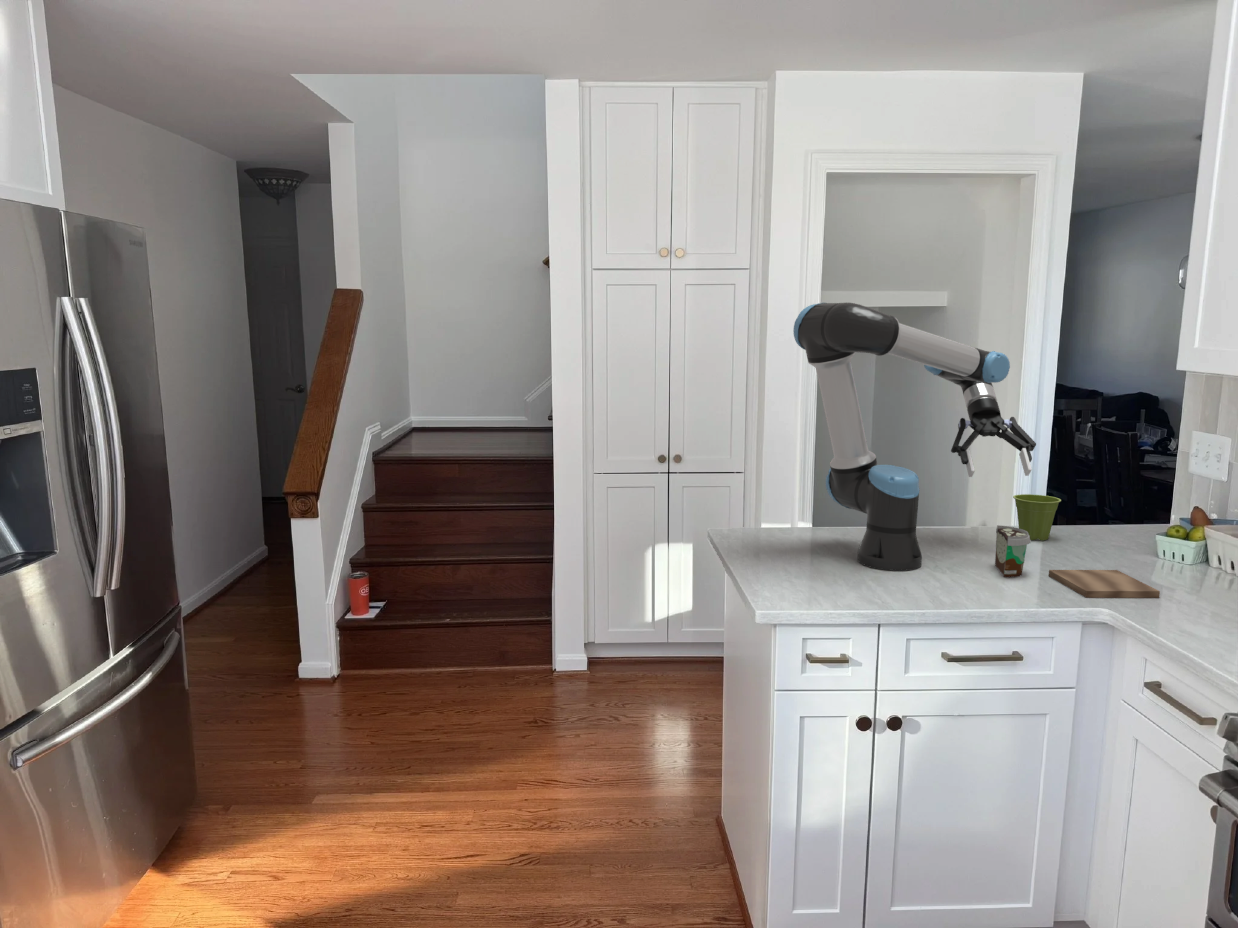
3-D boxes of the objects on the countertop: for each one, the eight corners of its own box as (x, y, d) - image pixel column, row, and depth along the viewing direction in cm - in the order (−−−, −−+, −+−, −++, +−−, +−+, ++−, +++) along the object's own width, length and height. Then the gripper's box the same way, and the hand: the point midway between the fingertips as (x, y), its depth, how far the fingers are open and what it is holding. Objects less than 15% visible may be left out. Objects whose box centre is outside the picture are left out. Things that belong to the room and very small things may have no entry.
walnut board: (1085, 597, 186) (1086, 590, 186) (1048, 575, 202) (1049, 569, 201) (1159, 597, 186) (1159, 591, 186) (1116, 576, 202) (1116, 569, 202)
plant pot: (1059, 536, 239) (1062, 496, 237) (1055, 545, 229) (1059, 504, 227) (1012, 530, 245) (1016, 491, 243) (1007, 539, 235) (1010, 499, 233)
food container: (1033, 580, 198) (1037, 538, 196) (1005, 578, 199) (1008, 536, 198) (1020, 565, 210) (1023, 526, 208) (993, 564, 211) (996, 524, 209)
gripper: (1026, 412, 227) (1047, 480, 215) (929, 415, 228) (944, 482, 217) (1036, 395, 220) (1057, 463, 208) (936, 397, 222) (952, 466, 210)
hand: (1000, 473), depth 213 cm, fingers open, 13 cm apart
